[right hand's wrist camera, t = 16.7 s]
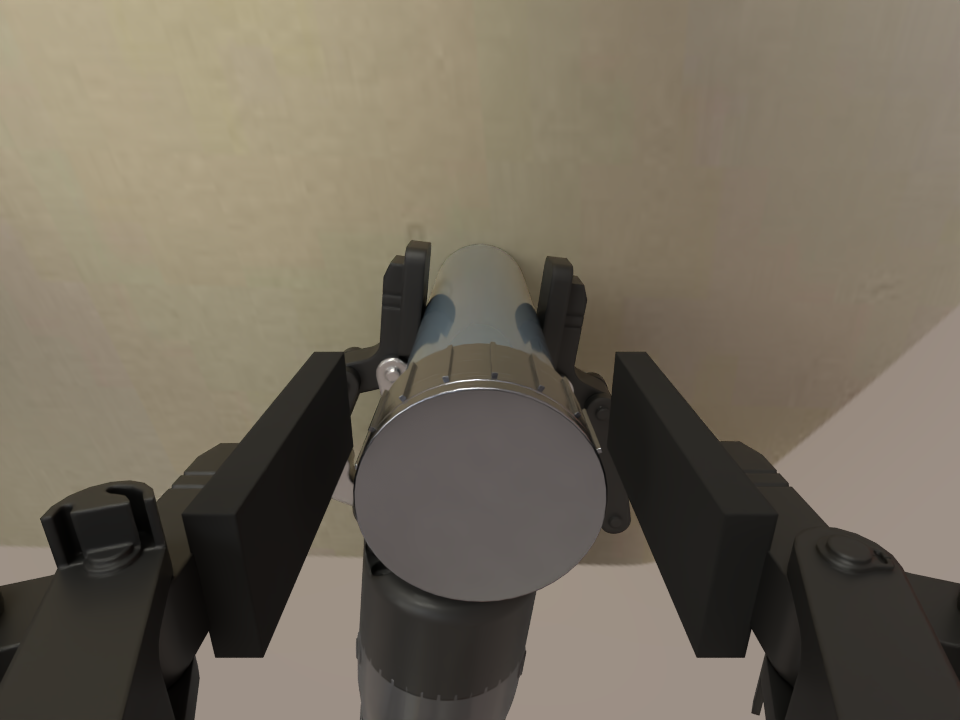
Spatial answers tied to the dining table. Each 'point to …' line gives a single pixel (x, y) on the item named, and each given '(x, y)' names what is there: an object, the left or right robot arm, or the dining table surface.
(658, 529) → the right robot arm
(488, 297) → the blue thermos bottle
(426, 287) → the left robot arm
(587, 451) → the lid
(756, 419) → the dining table surface
